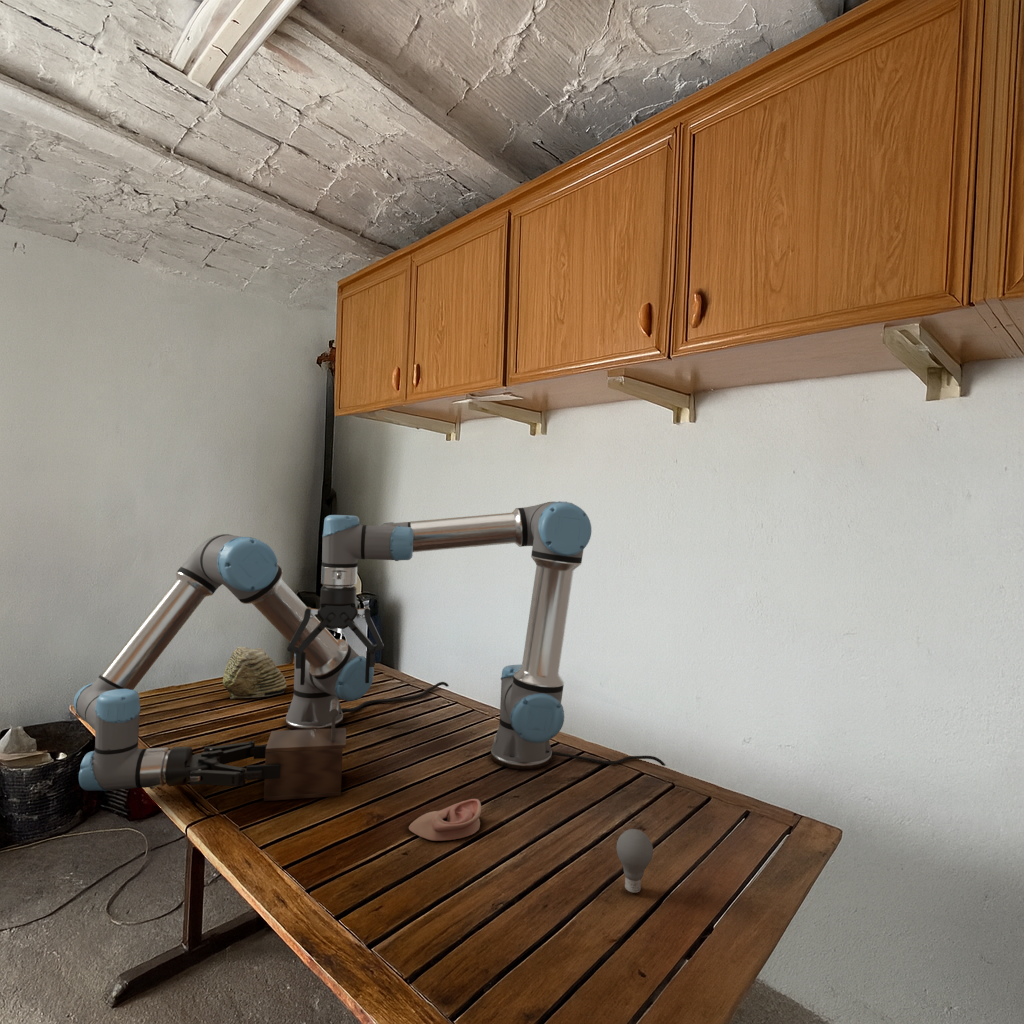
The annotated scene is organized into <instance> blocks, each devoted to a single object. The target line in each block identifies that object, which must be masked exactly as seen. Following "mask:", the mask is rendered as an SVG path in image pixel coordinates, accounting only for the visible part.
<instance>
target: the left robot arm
mask: <svg viewBox="0 0 1024 1024" xmlns="http://www.w3.org/2000/svg"><path fill="white" fill-rule="evenodd" d="M278 563H279V562H278V558H277V554H276V553H275V551H274V550H273V549H272V547H271V546H270V545H268V543H266V542H264V541H263V540H260V539H257V538H254V537H251V536H239V535H232V534H229V533H221V534H216V535H213V536H211V537H209V538H207V539H206V540H204V541H203V542H202V543H200V544H199V545H198V546H197V547H196V548H195V549H194V550H193V552H191V553H190V555H189V556H188V557H187V558H186V560H185V561H184V562H183V563H182V564H181V566H180V567H179V568H178V569H177V571H176V572H175V576H176V579H175V581H174V582H173V583H172V584H171V586H170V587H169V588H168V589H167V590H166V592H165V593H164V594H163V595H162V597H161V598H160V599H159V600H158V602H157V603H156V604H155V605H154V607H153V608H152V609H151V610H150V611H149V613H148V615H147V616H146V617H145V618H144V619H143V620H142V622H141V623H140V625H139V626H138V627H137V628H136V629H135V630H134V632H133V633H132V634H131V635H130V637H129V638H128V639H127V640H126V641H125V643H124V644H123V646H121V648H120V649H119V650H118V652H117V653H116V654H115V655H114V657H113V658H112V659H111V660H110V662H109V663H108V664H107V666H106V667H105V668H104V669H103V671H102V672H101V673H100V674H99V675H98V677H96V679H95V680H94V681H93V682H90V683H88V684H86V685H84V686H82V687H81V688H80V689H78V691H77V692H76V693H75V695H74V697H73V705H72V706H73V709H74V710H75V712H76V715H77V716H78V717H79V718H80V719H81V720H82V721H84V722H85V723H86V724H87V725H89V726H90V728H92V729H93V730H94V736H95V738H94V750H92V751H89V752H87V753H86V754H84V757H83V758H82V760H81V763H80V768H79V772H78V783H79V786H80V788H81V789H83V790H84V791H87V792H88V791H91V792H93V791H96V792H97V791H102V792H108V791H109V792H110V791H119V790H131V789H144V788H150V789H151V790H153V789H155V788H158V787H159V788H162V787H164V786H168V787H179V786H180V787H181V786H186V785H188V784H189V786H200V785H204V786H205V785H206V786H222V787H243V786H245V785H246V781H257V780H265V779H275V778H280V766H281V764H269V765H265V764H251V765H246V767H241V766H235V765H231V764H230V763H234V762H239V761H243V760H246V759H250V758H253V760H260V759H261V760H263V759H265V754H266V746H267V744H260V745H259V744H257V745H256V744H255V743H256V741H254V740H251V741H244V742H237V743H230V744H224V745H216V746H205V747H203V752H201V753H196V754H195V753H194V750H193V748H192V747H191V746H174V747H173V748H170V747H168V746H167V747H166V746H165V747H151V748H149V747H148V748H139V735H140V734H139V733H140V715H141V714H140V712H141V703H140V702H141V701H140V693H139V692H138V691H137V690H136V689H135V688H136V687H137V686H138V684H139V683H140V682H141V680H142V679H143V678H144V676H145V675H146V674H147V673H148V671H150V669H151V668H152V666H153V665H154V664H155V662H156V661H157V660H158V659H159V657H160V656H161V655H162V653H163V652H164V651H165V650H166V648H167V647H168V646H169V645H170V643H172V640H173V639H174V638H175V637H176V635H177V634H178V633H179V632H180V630H181V629H182V628H183V626H184V625H185V624H186V623H187V621H188V620H189V618H190V617H191V616H192V615H193V613H194V612H195V611H196V610H197V608H198V607H199V606H200V604H201V603H202V602H203V601H204V599H205V598H207V597H211V596H213V595H214V594H215V593H216V591H217V590H218V589H219V588H220V587H221V586H222V585H223V586H224V587H225V588H227V590H229V592H230V593H231V594H232V595H233V596H234V597H235V598H236V599H237V600H238V601H239V602H240V603H241V604H243V605H247V604H248V605H249V604H252V605H253V606H254V608H256V610H258V611H259V613H261V615H262V616H264V618H265V619H266V620H267V621H268V622H269V623H270V624H271V625H272V627H274V628H275V629H276V631H278V632H279V633H280V634H281V635H282V637H283V638H284V639H285V640H287V642H288V643H290V642H291V640H292V638H293V636H294V634H295V633H296V631H297V629H298V627H299V626H300V624H301V622H302V620H303V618H304V614H305V609H306V608H307V607H308V606H307V605H306V604H305V603H304V602H303V601H302V600H301V598H300V597H299V596H298V595H297V594H296V593H295V591H294V590H292V589H291V587H290V586H289V585H288V584H287V583H286V582H285V580H283V574H284V571H283V568H282V567H281V566H280V565H279V564H278ZM320 622H321V620H319V619H318V617H316V615H314V617H313V618H312V619H309V622H308V624H307V625H306V627H305V629H304V631H303V633H302V634H301V636H300V638H299V640H298V642H297V643H296V646H299V645H300V644H301V643H302V642H303V641H304V640H305V639H306V638H307V636H308V635H309V634H310V633H311V632H312V631H313V630H314V629H315V628H316V627H317V626H318V624H319V623H320ZM303 652H306V663H305V683H304V685H300V679H301V669H296V667H295V666H296V654H295V653H294V655H293V657H294V672H293V673H294V674H293V695H292V696H293V697H292V699H291V702H290V704H288V705H287V713H286V715H285V726H286V728H287V729H288V730H308V729H332V717H331V716H330V715H329V710H330V702H331V700H333V699H337V700H338V701H339V712H338V715H337V716H336V719H335V728H338V727H339V726H340V725H342V723H343V722H344V714H343V713H352V712H353V713H354V712H356V711H359V710H360V709H362V708H364V707H365V706H367V705H371V704H380V703H381V704H383V703H397V702H405V701H411V700H415V699H419V698H421V697H423V696H425V695H426V694H428V693H429V692H431V691H433V690H435V689H436V688H438V687H440V686H445V687H446V688H447V687H450V685H449V684H448V683H447V682H445V681H440V682H437V683H436V684H434V685H432V686H433V687H432V686H430V687H428V688H427V689H425V690H424V691H423V692H421V693H418V694H414V695H410V696H404V697H395V698H378V699H370V700H366V701H364V702H362V703H360V704H359V705H357V706H355V707H351V708H350V707H349V708H347V707H346V708H344V707H343V708H342V706H341V702H340V701H346V702H353V701H354V702H355V701H357V700H359V699H361V698H362V697H363V696H365V695H366V693H367V692H368V691H369V690H370V689H371V686H372V684H373V681H374V676H375V668H374V667H370V669H369V683H365V671H366V656H363V655H359V654H358V653H357V652H356V651H355V650H354V648H352V646H351V645H350V644H349V643H348V642H347V641H346V640H345V639H343V638H335V637H334V635H333V634H332V633H331V631H329V630H328V628H327V627H325V628H324V629H323V630H322V631H321V632H320V633H319V634H318V636H317V637H316V638H315V639H314V640H313V641H312V642H311V643H310V644H309V645H308V646H307V647H306V649H305V650H304V651H303Z"/></svg>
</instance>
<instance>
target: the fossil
mask: <svg viewBox="0 0 1024 1024" xmlns="http://www.w3.org/2000/svg"><path fill="white" fill-rule="evenodd" d="M222 676H223V677H222V685H223V687H224V688H225V690H226V691H228V693H229V698H230V699H250V698H264V697H271V696H275V695H281V694H284V693H285V691H286V689H287V687H288V686H287V680H286V678H285V676H284V674H283V673H282V672H281V669H279V668H278V667H277V665H276V663H275V662H274V660H273V659H272V658H271V657H270V656H269V655H268V654H267V653H266V652H265V650H264V649H263V648H260V647H258V648H251V647H247V646H246V647H245V646H238V647H237V648H236V649H235V650H233V651H232V653H231V656H230V657H229V659H228V660H227V663H226V666H225V668H224V671H223V675H222Z"/></svg>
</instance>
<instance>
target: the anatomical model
mask: <svg viewBox="0 0 1024 1024" xmlns="http://www.w3.org/2000/svg"><path fill="white" fill-rule="evenodd" d="M481 814H482V803H481V801H480V800H479V799H478V798H470V799H466V800H463V801H460V802H457V803H454V804H452V805H449V806H447V807H445V808H443V809H440V810H433V811H429V812H426V813H424V814H422V815H420V816H419V817H417V818H416V819H414V820H413V821H412V822H411V823H410V825H409V826H408V830H409V831H410V832H411V833H413V834H415V835H416V836H418V837H420V838H423V839H425V840H428V841H433V842H443V841H452V840H457V839H458V840H459V839H463V838H466V837H467V838H468V837H469V836H472V835H473V834H475V833H477V832H478V831H479V830H480V828H481V820H480V817H481Z"/></svg>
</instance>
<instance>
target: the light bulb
mask: <svg viewBox="0 0 1024 1024" xmlns="http://www.w3.org/2000/svg"><path fill="white" fill-rule="evenodd" d="M615 849H616V854H617V857H618V859H619V861H620V863H621V865H622V867H623V873H624V874H623V875H624V876H625V878H624V888H625V890H627V891H628V892H630V893H634V894H635V893H639V892H640V891H641V889H642V887H641V886H642V879H643V877H644V875H645V871H646V868H647V867H648V866H649V864H650V863H651V861H652V859H653V855H654V847H653V843H652V841H651V838H649V836H648V835H647V834H646V833H645V832H643V831H642V830H641V829H636V828H629V829H627V830H625V831H623V832H622V833H621V834H620V835H619V837H618V839H617V841H616V847H615Z"/></svg>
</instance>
